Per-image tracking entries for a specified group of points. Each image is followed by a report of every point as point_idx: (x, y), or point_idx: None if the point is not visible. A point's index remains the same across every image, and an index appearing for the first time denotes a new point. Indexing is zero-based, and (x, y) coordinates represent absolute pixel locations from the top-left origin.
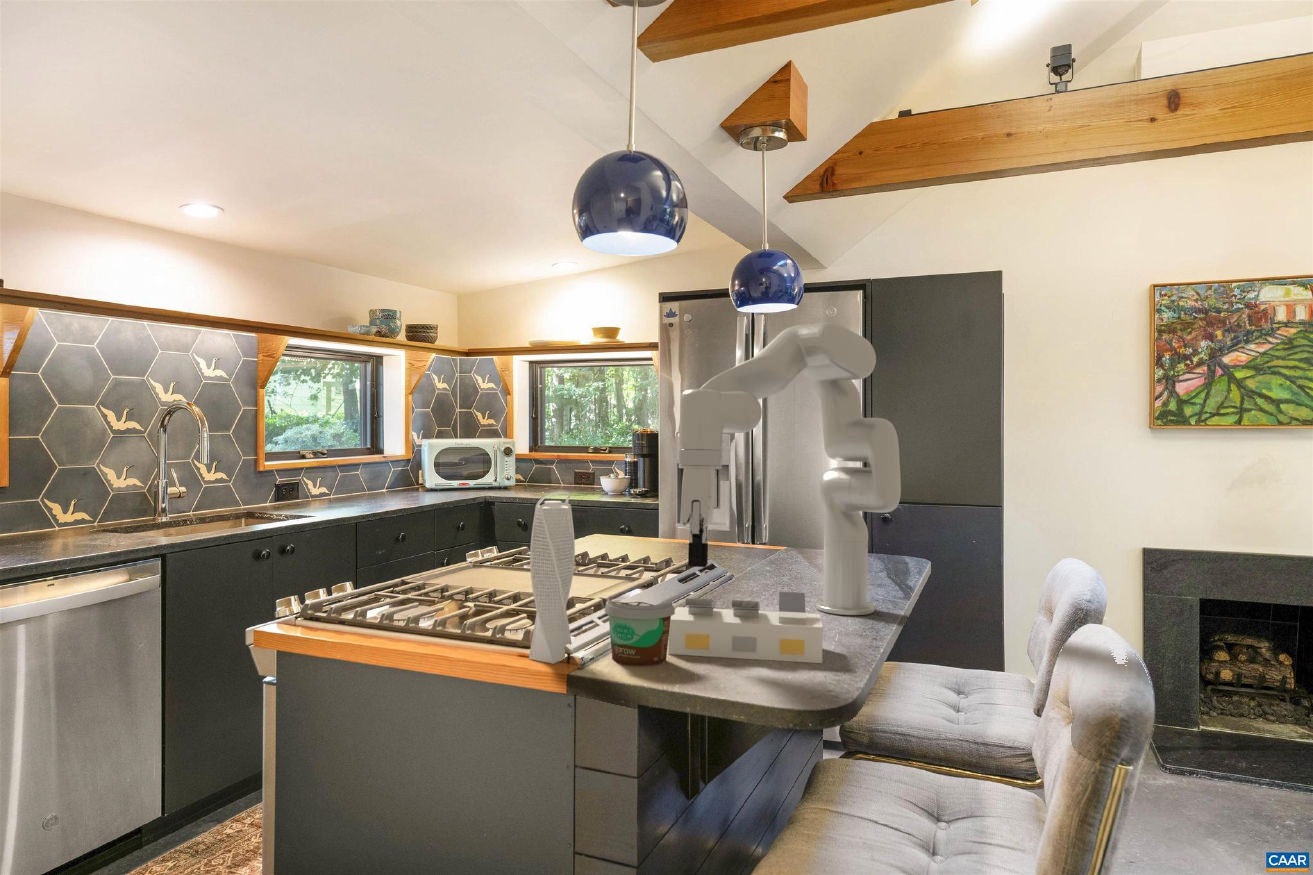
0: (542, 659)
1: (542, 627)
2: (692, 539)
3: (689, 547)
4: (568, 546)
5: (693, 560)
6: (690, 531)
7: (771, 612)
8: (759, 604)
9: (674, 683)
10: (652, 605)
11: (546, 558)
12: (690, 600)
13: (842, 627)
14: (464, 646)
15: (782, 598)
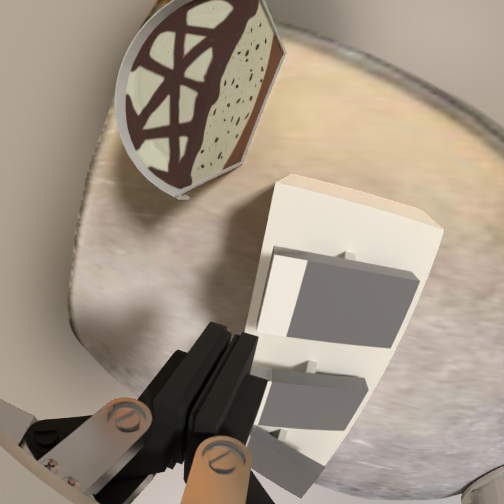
0: None
1: None
2: (88, 416)
3: (166, 385)
4: None
5: (178, 353)
6: (61, 445)
7: (339, 432)
8: (331, 428)
9: (117, 178)
10: (120, 134)
11: None
12: (270, 267)
13: (421, 477)
14: None
15: (292, 466)
